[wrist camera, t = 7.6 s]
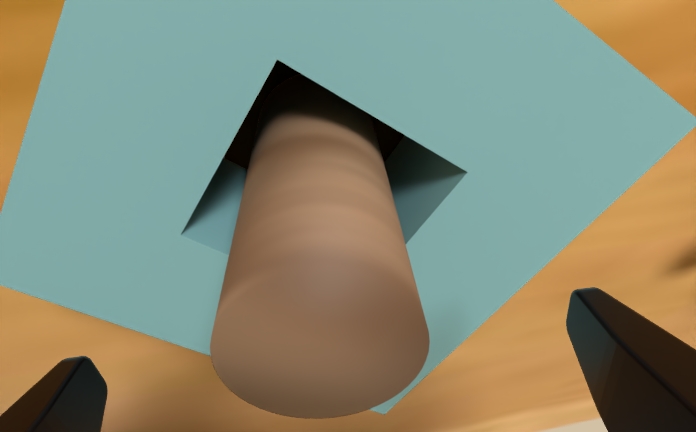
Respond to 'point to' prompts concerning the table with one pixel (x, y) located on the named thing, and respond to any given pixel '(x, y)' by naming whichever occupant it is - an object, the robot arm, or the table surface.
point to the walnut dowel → (317, 267)
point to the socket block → (357, 88)
